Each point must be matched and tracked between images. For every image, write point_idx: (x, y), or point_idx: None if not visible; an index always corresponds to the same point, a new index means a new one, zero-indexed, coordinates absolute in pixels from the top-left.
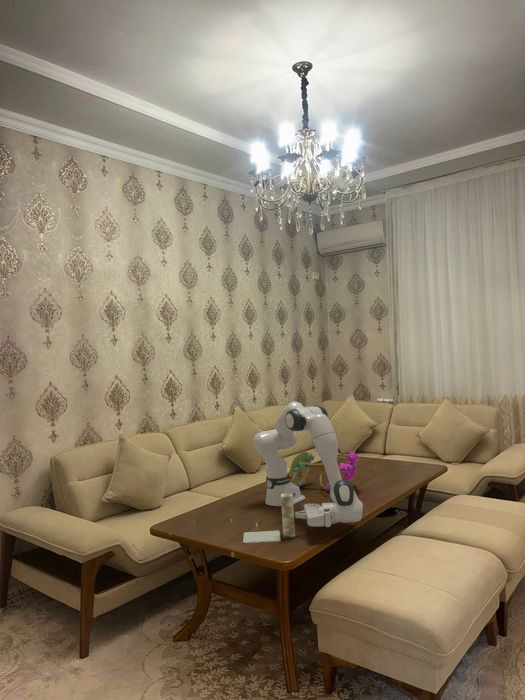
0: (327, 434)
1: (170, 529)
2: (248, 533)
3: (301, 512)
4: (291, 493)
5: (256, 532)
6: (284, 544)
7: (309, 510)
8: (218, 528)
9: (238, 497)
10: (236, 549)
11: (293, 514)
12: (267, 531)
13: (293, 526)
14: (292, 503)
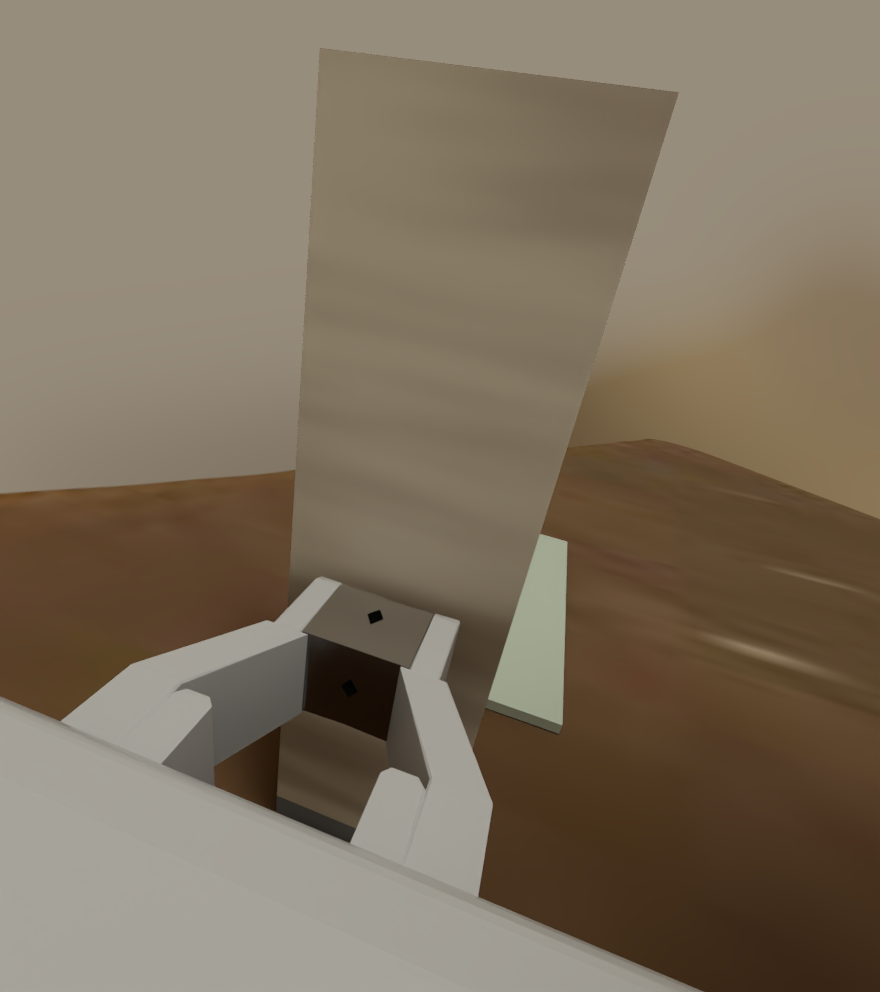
0: None
1: (653, 450)
2: (543, 549)
3: (411, 755)
4: (633, 96)
5: (551, 580)
6: (194, 635)
7: (18, 982)
8: (663, 513)
9: None
10: None
11: (298, 521)
12: (556, 635)
13: None
14: (314, 280)
